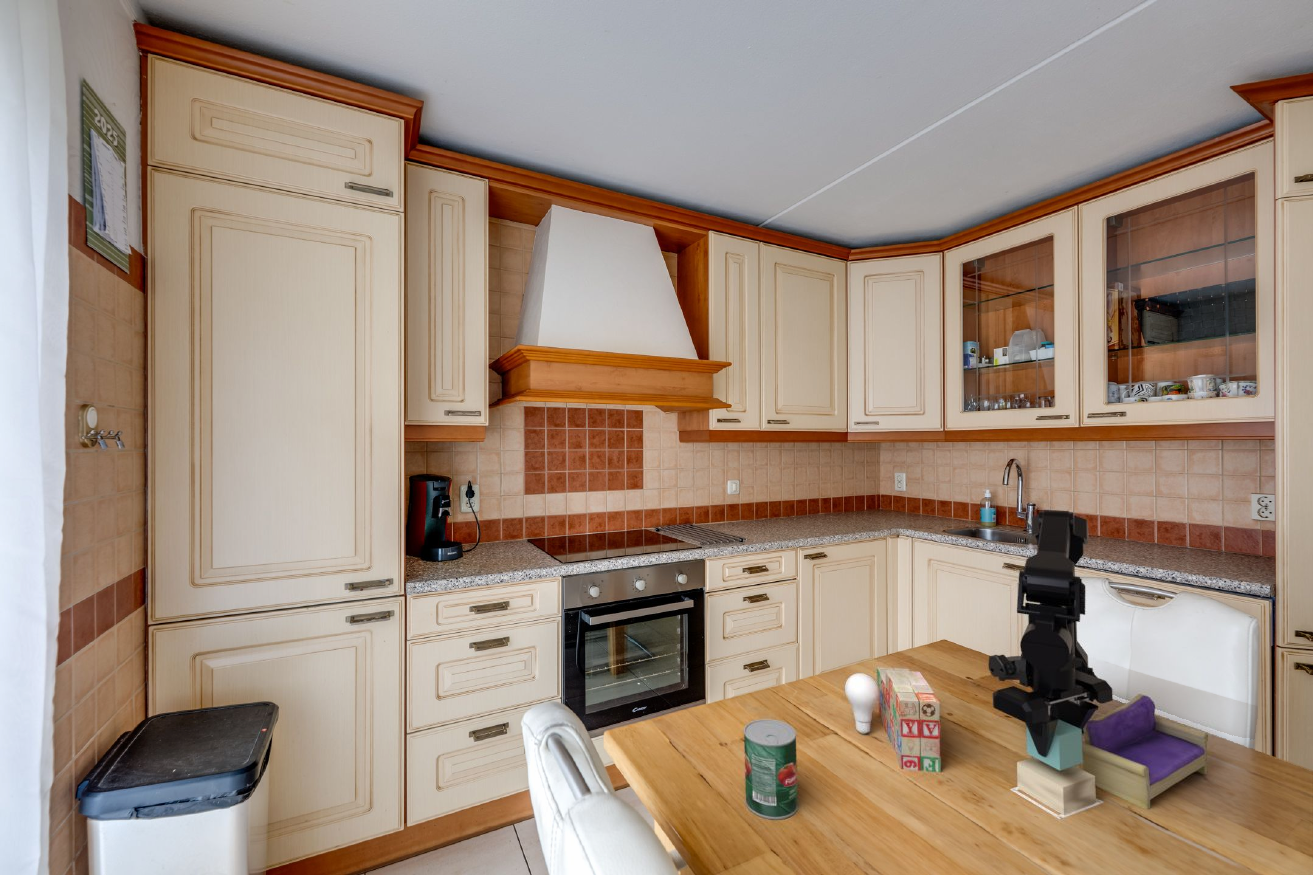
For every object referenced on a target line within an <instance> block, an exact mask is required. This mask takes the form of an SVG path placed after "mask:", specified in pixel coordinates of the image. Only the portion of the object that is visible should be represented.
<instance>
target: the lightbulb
mask: <svg viewBox="0 0 1313 875" xmlns="http://www.w3.org/2000/svg"><path fill="white" fill-rule="evenodd" d="M844 691H845V692H844V693H845V696H846V698H847V699H848V702H849V703H850V706H851V708H852V711H853V718H854V719H855V728H856V730H857V731H858V732H860V734H863V735H865V734H867V733H869V732H871V722H872V719H873V711H874V709H875V706H876V705H877V704H878V702H879V695H880V693H879V687H878V683H877V681H876V680H875V679H874V678H873V677H871V676H870V675H869V674H866V673H863V672H857V673H854V674H852V675H850V676H849V677H848V678H847V680H846V682H845V685H844Z"/></svg>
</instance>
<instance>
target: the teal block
mask: <svg viewBox="0 0 1313 875" xmlns="http://www.w3.org/2000/svg"><path fill="white" fill-rule="evenodd" d="M1025 733H1026V754H1027V755H1029V756H1030V757H1035V758H1037V759H1039V760H1040V761H1042V762H1044V763H1046V764H1048V765H1050V766H1052V767H1054V768H1056V769H1058V770H1063V769H1066V768H1069V767H1072V766H1078V765H1080V764H1083V756H1082V742H1083V736H1082V735H1083V733H1082V729H1080V728H1077V727H1075V726H1073V725H1071V724H1068V723H1066V722H1064V721H1061V720H1058V723H1057V727H1056V730H1055V733H1054V736H1053V740H1052V743H1051V746H1050V750H1049V752H1048V754H1047V756H1046V757H1043V756H1041V755H1039V754H1038V752H1037V750H1036V747H1035V745H1034V742H1033V740H1032V737H1031V735H1030V732H1029V730H1028V728H1027V726H1026V725H1025Z"/></svg>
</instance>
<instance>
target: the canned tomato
mask: <svg viewBox="0 0 1313 875" xmlns="http://www.w3.org/2000/svg"><path fill="white" fill-rule="evenodd" d="M743 738H744V740H743V742H744V746H743V747H744V781H745V782H744V786H745V787H744V788H745V804H746V807H747V808H748V810H749V811H750V812H751V813H753V814H754V815H756V816H757V817H760V818H763V819H767V820H776V821H777V820H784V819H788V818H790V817H792V816H793V815H795V813H797V811H798V808H799V802H798V774H797V773H798V770H797V768H798V767H797V766H798V765H797V732H796V730H795V728H794V727H793V726H792V725H791V724H788V723H787V722H785V721H782V720H777V719H769V718H761V719H756V720H753V721H749V722H748V723H747V724H745V726H744V727H743Z"/></svg>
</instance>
